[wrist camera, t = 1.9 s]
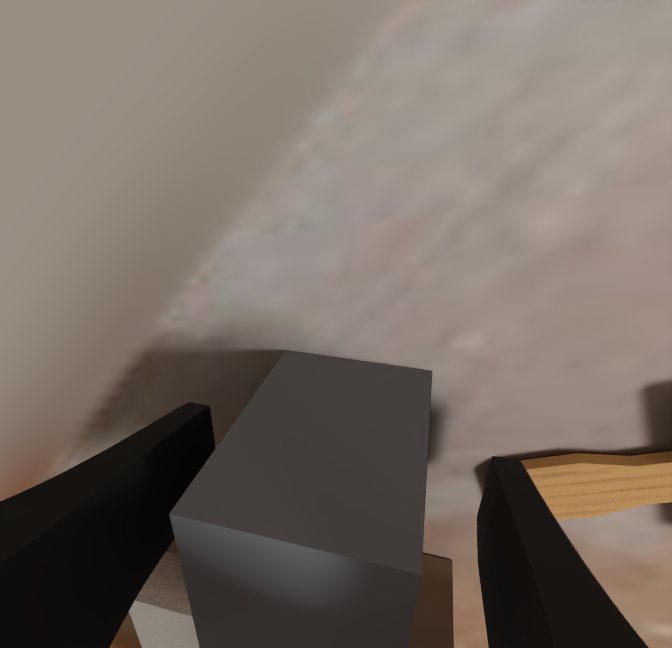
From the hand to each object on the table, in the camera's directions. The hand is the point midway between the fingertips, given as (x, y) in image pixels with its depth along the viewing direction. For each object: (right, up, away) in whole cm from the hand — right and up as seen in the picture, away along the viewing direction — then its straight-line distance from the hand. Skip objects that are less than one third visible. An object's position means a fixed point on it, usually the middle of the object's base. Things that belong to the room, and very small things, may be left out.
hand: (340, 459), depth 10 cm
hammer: (0, -5, +4) cm, 7 cm away
